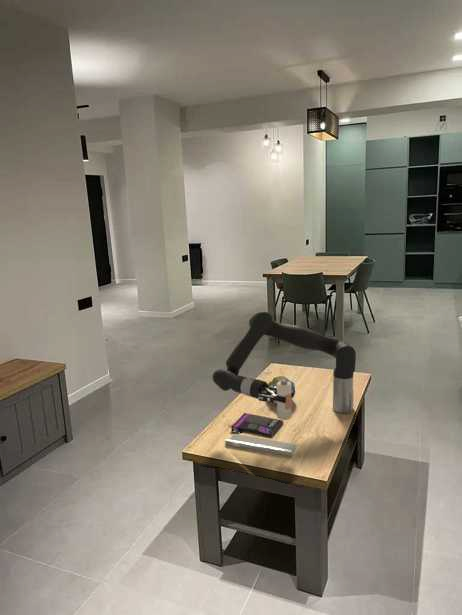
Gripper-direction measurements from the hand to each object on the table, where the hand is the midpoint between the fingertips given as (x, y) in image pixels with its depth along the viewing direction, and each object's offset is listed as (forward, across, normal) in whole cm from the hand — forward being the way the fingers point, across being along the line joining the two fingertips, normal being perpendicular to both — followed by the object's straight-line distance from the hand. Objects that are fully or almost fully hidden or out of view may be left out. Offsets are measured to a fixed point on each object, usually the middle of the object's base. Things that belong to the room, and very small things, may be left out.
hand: (289, 397), depth 180 cm
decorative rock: (-29, +40, +24) cm, 55 cm away
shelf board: (-12, -3, +24) cm, 27 cm away
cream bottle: (-3, 0, +9) cm, 9 cm away
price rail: (-11, -7, +23) cm, 26 cm away
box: (-22, +9, +25) cm, 35 cm away
